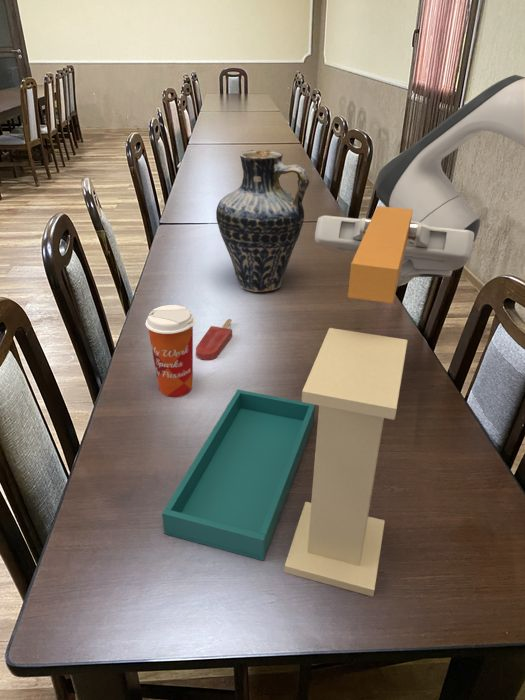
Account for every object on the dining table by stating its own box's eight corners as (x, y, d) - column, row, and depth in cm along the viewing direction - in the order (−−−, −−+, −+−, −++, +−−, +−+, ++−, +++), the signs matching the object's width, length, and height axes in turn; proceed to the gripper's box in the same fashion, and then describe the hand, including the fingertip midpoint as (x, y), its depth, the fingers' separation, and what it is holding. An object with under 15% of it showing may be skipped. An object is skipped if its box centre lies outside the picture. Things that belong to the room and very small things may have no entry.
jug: (206, 294, 123) (199, 158, 108) (234, 264, 139) (232, 142, 124) (293, 307, 118) (300, 166, 102) (312, 274, 134) (320, 148, 118)
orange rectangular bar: (373, 233, 69) (377, 205, 67) (408, 237, 68) (412, 209, 66) (347, 297, 53) (351, 263, 51) (392, 303, 52) (398, 269, 50)
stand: (306, 502, 70) (319, 326, 56) (384, 520, 67) (417, 341, 54) (281, 579, 60) (290, 388, 46) (372, 605, 57) (409, 411, 44)
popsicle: (240, 317, 110) (214, 354, 98) (240, 324, 111) (214, 362, 99) (219, 314, 111) (191, 351, 99) (219, 321, 112) (191, 358, 100)
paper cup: (146, 398, 89) (137, 323, 81) (160, 373, 95) (153, 301, 88) (193, 403, 88) (188, 327, 80) (203, 377, 94) (200, 305, 87)
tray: (237, 407, 87) (237, 389, 85) (313, 422, 84) (315, 404, 82) (164, 534, 65) (161, 513, 63) (263, 561, 62) (263, 540, 60)
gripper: (325, 219, 80) (310, 193, 67) (469, 234, 75) (483, 209, 62) (318, 261, 81) (302, 243, 67) (461, 279, 76) (474, 263, 62)
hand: (390, 227), depth 65 cm, fingers closed on orange rectangular bar, 4 cm apart
